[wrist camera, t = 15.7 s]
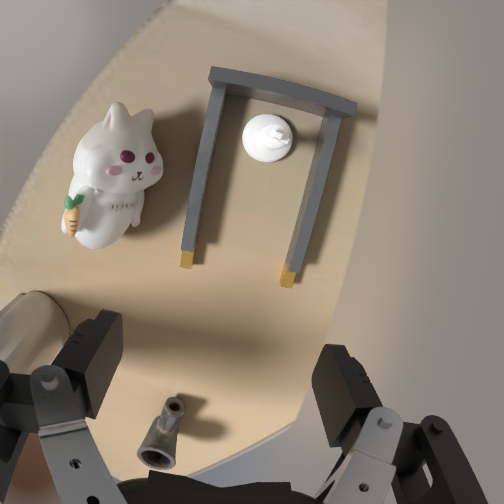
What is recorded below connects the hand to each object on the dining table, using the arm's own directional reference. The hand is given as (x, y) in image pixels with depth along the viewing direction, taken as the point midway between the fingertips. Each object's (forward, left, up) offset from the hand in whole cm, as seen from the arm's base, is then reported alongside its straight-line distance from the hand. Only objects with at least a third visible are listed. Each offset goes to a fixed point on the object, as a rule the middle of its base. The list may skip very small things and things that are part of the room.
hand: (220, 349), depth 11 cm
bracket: (+1, +4, -21) cm, 22 cm away
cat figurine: (-13, +2, -22) cm, 25 cm away
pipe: (-5, -34, -22) cm, 40 cm away
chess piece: (+1, +8, -22) cm, 23 cm away
